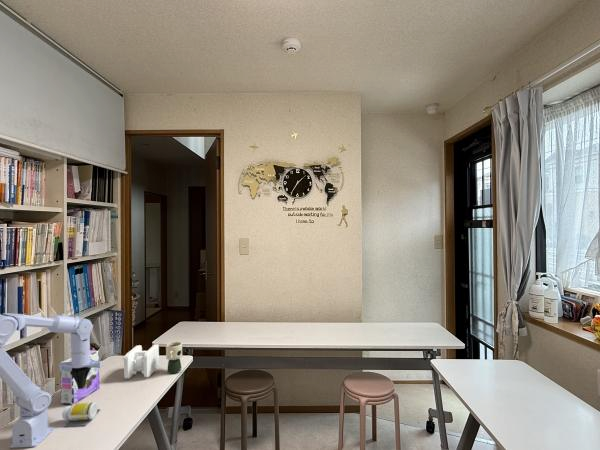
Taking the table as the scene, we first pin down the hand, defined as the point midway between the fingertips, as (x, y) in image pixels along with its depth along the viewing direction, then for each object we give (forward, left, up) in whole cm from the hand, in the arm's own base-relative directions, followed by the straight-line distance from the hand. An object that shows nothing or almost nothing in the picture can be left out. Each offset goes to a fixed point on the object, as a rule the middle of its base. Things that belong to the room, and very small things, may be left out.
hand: (81, 387), depth 127 cm
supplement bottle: (-4, -7, -7) cm, 10 cm away
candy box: (+14, +8, -10) cm, 19 cm away
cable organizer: (+33, -9, -10) cm, 36 cm away
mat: (-3, -2, -10) cm, 11 cm away
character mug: (+34, -24, -10) cm, 42 cm away
